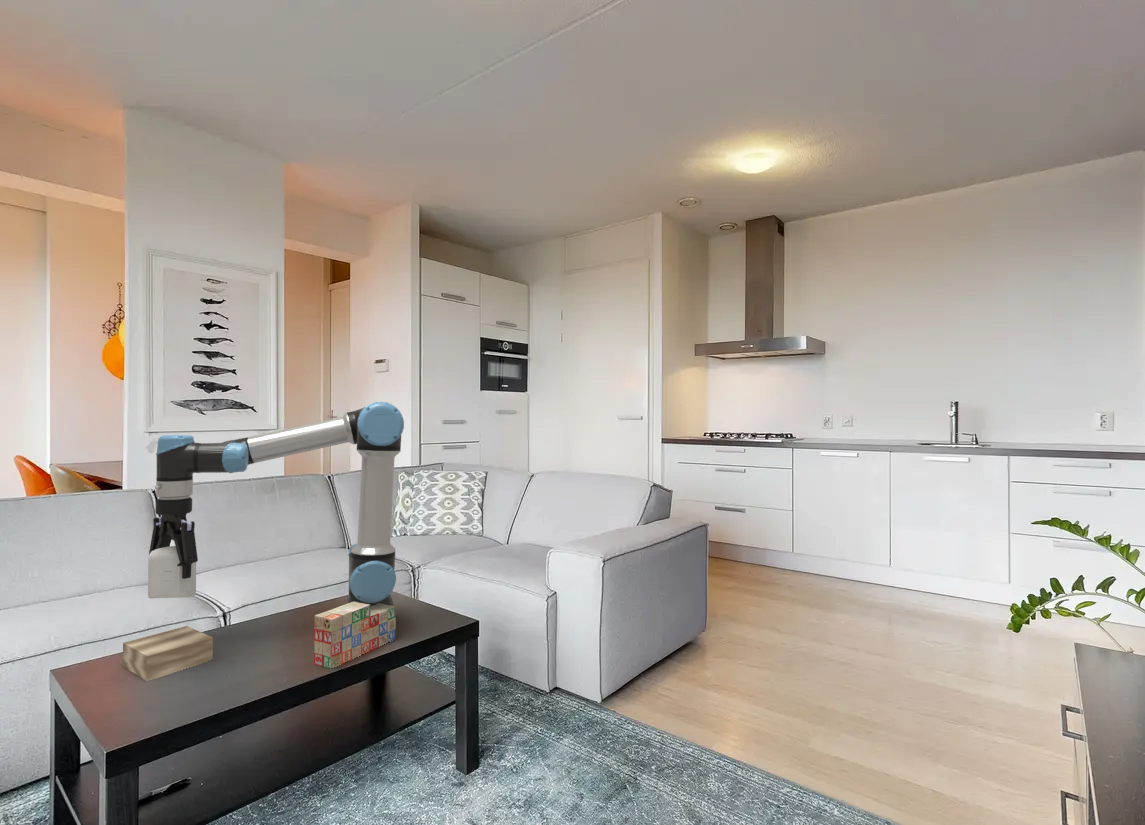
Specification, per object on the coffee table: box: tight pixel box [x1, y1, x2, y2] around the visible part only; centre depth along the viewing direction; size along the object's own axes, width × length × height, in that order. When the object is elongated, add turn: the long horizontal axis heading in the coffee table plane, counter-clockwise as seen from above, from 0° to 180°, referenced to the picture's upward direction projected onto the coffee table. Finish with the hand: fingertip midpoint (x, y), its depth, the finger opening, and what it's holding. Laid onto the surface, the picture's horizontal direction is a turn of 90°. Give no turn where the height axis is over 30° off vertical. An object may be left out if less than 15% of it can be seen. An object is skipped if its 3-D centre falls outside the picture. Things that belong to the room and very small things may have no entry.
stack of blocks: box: [313, 602, 397, 669], centre depth 152 cm, size 21×6×12 cm, turn 153°
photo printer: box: [147, 545, 197, 600], centre depth 145 cm, size 10×4×12 cm, turn 97°
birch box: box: [122, 625, 214, 682], centre depth 144 cm, size 14×14×6 cm
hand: (172, 588), depth 145 cm, fingers closed on photo printer, 9 cm apart
